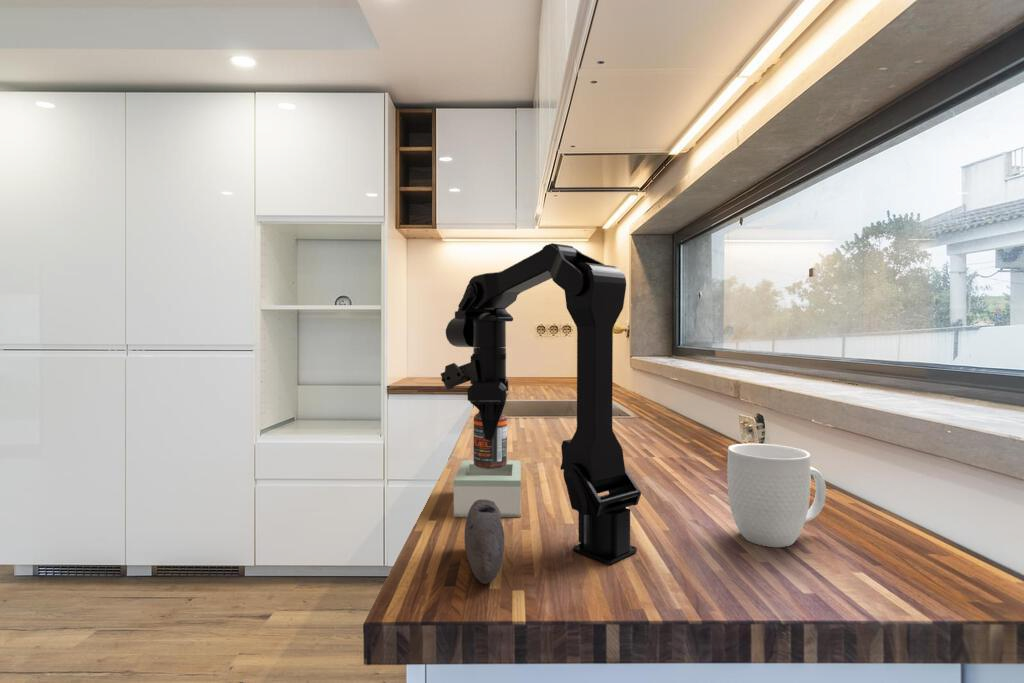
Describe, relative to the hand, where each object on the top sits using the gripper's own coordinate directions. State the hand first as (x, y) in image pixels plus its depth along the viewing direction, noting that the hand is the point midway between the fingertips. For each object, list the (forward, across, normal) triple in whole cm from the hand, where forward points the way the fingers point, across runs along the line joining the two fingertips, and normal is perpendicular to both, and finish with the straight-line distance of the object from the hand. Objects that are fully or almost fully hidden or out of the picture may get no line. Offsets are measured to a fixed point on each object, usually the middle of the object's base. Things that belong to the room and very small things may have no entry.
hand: (490, 436), depth 96 cm
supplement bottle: (+5, 0, 0) cm, 5 cm away
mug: (+12, +16, +42) cm, 47 cm away
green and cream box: (+12, 0, 0) cm, 12 cm away
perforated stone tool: (+12, +26, +1) cm, 29 cm away
